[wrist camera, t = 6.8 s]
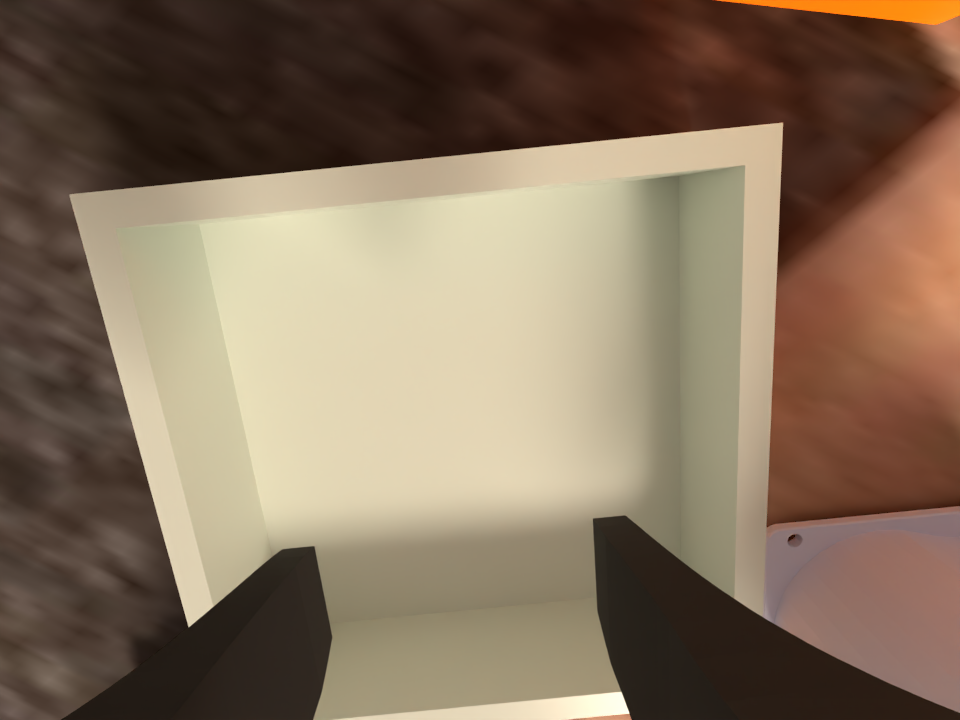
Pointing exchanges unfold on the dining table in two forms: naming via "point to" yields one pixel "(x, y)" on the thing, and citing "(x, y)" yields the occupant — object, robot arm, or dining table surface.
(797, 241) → the dining table surface
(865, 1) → the orange juice
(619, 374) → the bin
